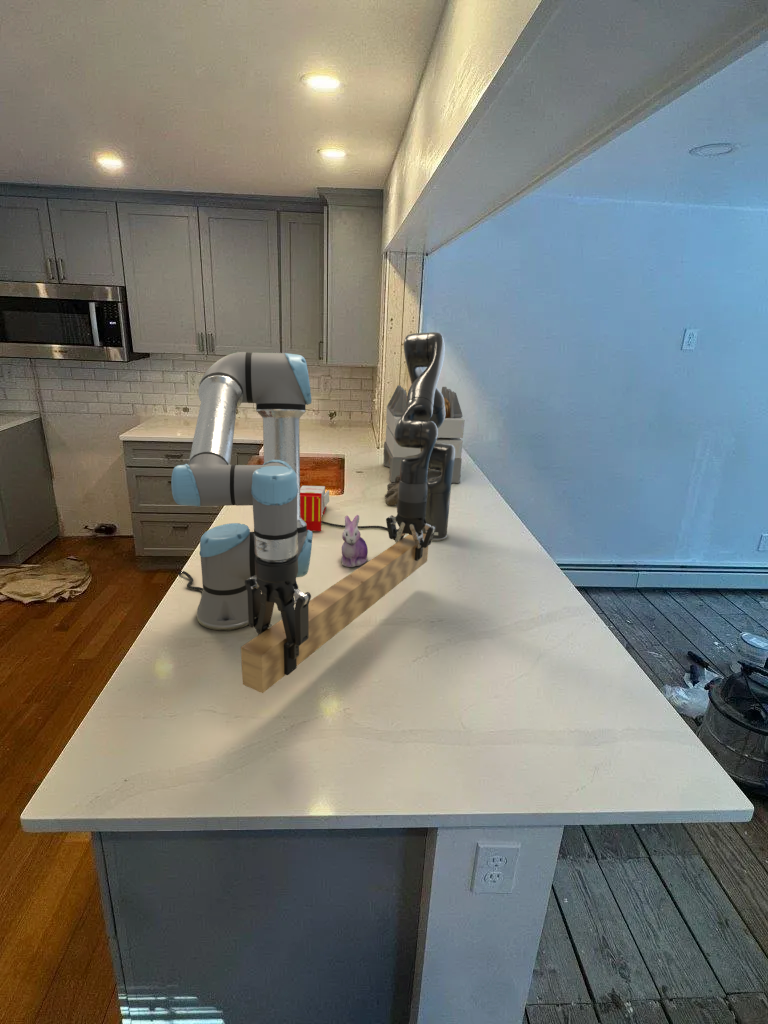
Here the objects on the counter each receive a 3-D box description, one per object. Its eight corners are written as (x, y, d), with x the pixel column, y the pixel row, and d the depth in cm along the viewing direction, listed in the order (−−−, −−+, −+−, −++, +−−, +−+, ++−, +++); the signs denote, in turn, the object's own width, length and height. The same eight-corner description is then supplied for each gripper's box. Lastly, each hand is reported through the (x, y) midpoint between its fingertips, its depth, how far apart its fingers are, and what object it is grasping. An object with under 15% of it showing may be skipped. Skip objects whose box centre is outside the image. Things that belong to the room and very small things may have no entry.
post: (412, 557, 160) (413, 530, 157) (427, 561, 158) (429, 534, 155) (242, 684, 103) (240, 646, 100) (262, 693, 101) (261, 655, 98)
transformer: (382, 463, 289) (386, 382, 275) (445, 464, 293) (451, 384, 279) (390, 482, 257) (394, 392, 243) (460, 483, 261) (468, 394, 247)
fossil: (383, 480, 246) (411, 461, 241) (396, 497, 249) (424, 478, 244) (377, 501, 226) (408, 481, 221) (392, 519, 229) (422, 500, 224)
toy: (330, 481, 223) (325, 494, 194) (330, 514, 226) (324, 532, 196) (299, 480, 222) (289, 493, 193) (299, 513, 225) (289, 531, 196)
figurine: (346, 570, 170) (347, 523, 165) (333, 557, 178) (334, 512, 173) (374, 565, 174) (376, 519, 169) (360, 552, 183) (362, 509, 178)
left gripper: (223, 549, 101) (229, 661, 109) (304, 575, 93) (304, 693, 101) (252, 536, 107) (256, 642, 115) (330, 559, 99) (328, 671, 107)
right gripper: (380, 495, 146) (378, 555, 152) (431, 506, 139) (426, 569, 145) (394, 488, 152) (391, 546, 158) (443, 498, 146) (438, 558, 152)
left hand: (279, 666), depth 108 cm, fingers closed on post, 5 cm apart
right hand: (408, 557), depth 152 cm, fingers closed on post, 4 cm apart
